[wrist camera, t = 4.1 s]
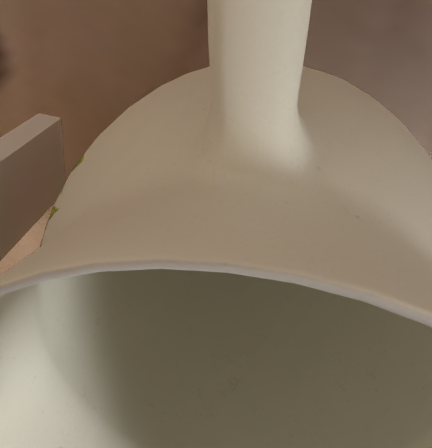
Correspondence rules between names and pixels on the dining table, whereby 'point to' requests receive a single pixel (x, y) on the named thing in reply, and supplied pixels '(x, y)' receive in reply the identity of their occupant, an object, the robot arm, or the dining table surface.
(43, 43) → the dining table surface
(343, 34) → the dining table surface
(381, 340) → the pitcher
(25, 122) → the robot arm
